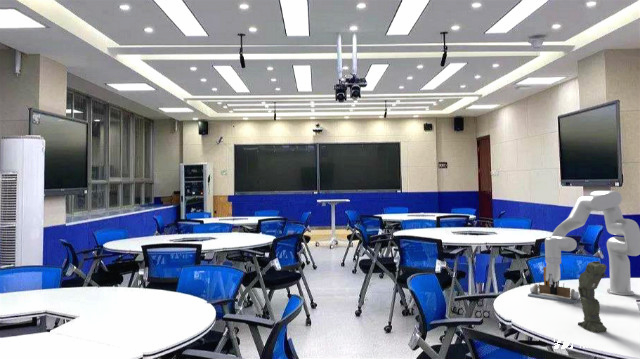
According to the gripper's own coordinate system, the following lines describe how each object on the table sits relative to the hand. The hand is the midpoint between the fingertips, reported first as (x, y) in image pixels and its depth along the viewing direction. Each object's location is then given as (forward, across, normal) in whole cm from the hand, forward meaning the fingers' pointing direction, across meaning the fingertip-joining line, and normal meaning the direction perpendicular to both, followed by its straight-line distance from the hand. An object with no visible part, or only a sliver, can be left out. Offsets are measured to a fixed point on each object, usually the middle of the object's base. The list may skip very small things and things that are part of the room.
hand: (554, 293), depth 231 cm
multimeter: (+2, -22, -6) cm, 23 cm away
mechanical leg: (+2, +46, +28) cm, 54 cm away
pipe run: (+2, 0, 0) cm, 2 cm away
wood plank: (+1, 0, 0) cm, 1 cm away
